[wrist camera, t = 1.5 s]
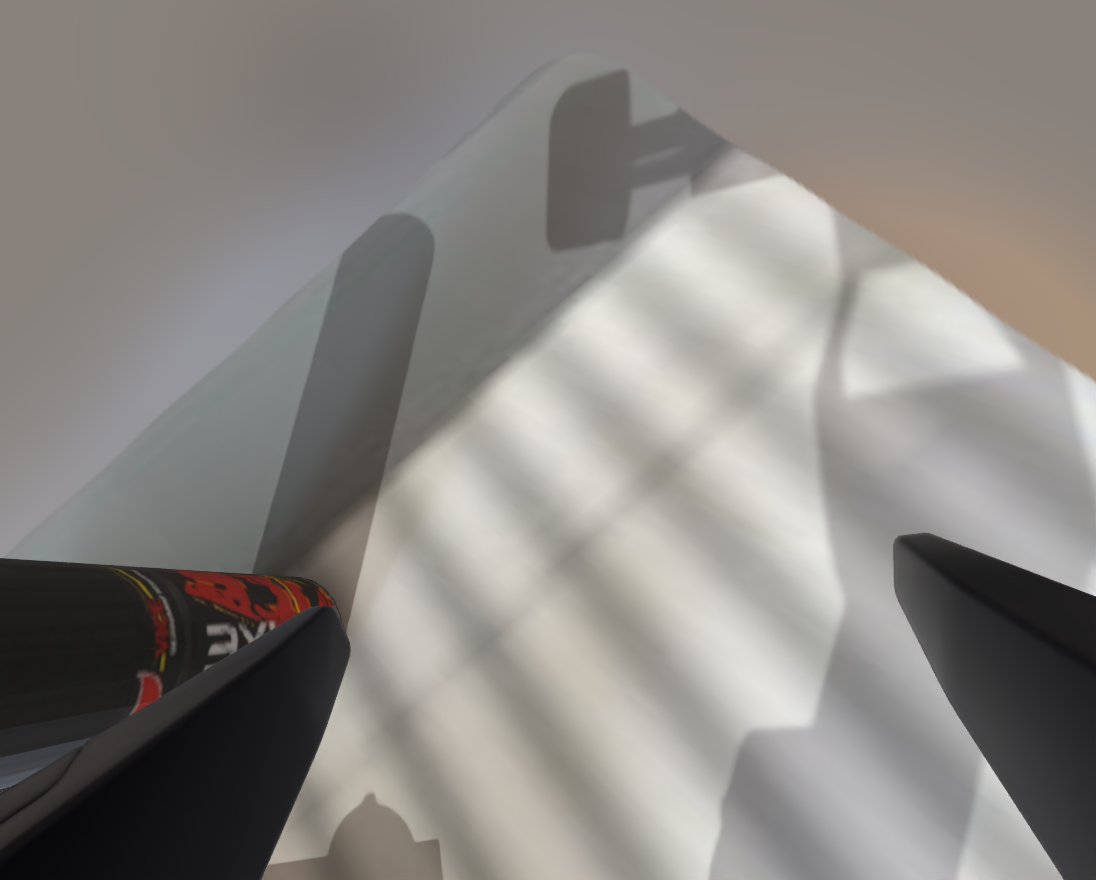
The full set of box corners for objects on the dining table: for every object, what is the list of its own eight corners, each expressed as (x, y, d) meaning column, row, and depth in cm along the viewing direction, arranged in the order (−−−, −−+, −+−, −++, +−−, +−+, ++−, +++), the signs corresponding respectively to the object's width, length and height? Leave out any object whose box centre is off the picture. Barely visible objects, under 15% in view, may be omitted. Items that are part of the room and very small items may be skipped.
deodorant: (221, 609, 27) (-281, 616, 13) (323, 556, 26) (-87, 504, 13) (246, 734, 25) (-320, 901, 11) (357, 679, 24) (-90, 782, 10)
